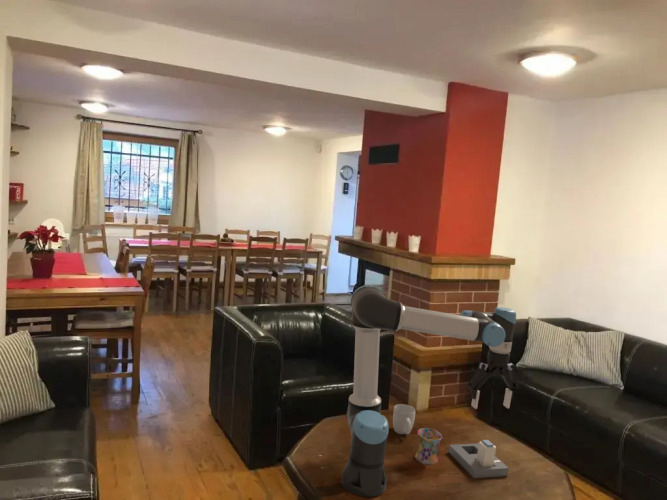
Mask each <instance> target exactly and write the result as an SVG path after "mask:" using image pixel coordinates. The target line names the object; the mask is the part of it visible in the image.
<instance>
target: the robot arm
mask: <svg viewBox="0 0 667 500" xmlns="http://www.w3.org/2000/svg"><path fill="white" fill-rule="evenodd" d="M350 306H351V326H352V327H353V328H354V329H355V337H354V338H355V339H354V340H355V341H354V361H353V362H354V363H353V364H354V365H353V366H354V369H353V387H352V388H353V390H352V392H353V393H352V394H350V395H349V397H348V407H347V411H346V421H347V423H348V427H349V432H350V437H351V438H350V439H351V440H350V449H349V457H348V460H347V462H346V465H345V466H344V469H343V471H342V474H341V480H340V481H341V485H342V486H343V488H344V489H346V491H348V492H349V493H351V494H353V495H357V496H360V497H368V498H370V497H371V498H372V497H377V496H380V495H382V494H383V493H384V492H385V491H386V489H387V476H386V471H385V456H386V449H387V442H388V435H389V429H390V428H389V421H388V419H387V418H386V416H385V415H383V414H381V413H382V398H381V397H380V396H379V395H378V385H379V361H380V360H379V359H380V337H381V330H385V331H393V332H397V331H399V330H404V331H405V330H406V331H413V332H418V333H423V334H431V335H434V336H435V335H437V336H442V337H447V338H448V337H449V338H454V339H455V338H456V339H460V340H467V341H474V342H478V343H484V345H486V346H488V348H489V349H488V351H487V357H486V359H487V362H486V363H483V362H482V361H480V362H479V363H478V366H477V369H476V370H475V372H474V373H473V375H472V377H471V378H470V380H469V382H468V383H467V387H468V388H469V389H471V394H470V397H471V399H472V400H471V404H470V406H471V407H472V408H474V409H475V410H477V409H478V407H479V406H478V404H479V400H480V393H481V390H479V389H481V387H482V386H483V385H484V384H485V383H486V382H487V381H488V380H489V379H491V378H492V377H499V378H500V377H502V380H503V381H504V383H505V385H506V386H507V387H506V388H505V391H504V392H505V393H504V397H503V399H504V400H503V403H502V405H503V406H504V407H505V408H506V409H510V406H511V403H512V401H511V400H512V399H513V397H514V393H515V392H517V390H519V389H520V383H519V382H518V378H517V373H516V365H515V364H513V363H512V362H510V357H511V351H512V346H513V339H514V338H513V337H514V334H515V333H514V331H515V327H516V322H517V312H516V311H515V310H514V309H512V308H508V307H505V306H504V307H502V306H497V307H495V308H494V311H493V312H486V311H479V310H472V309H471V310H466V309H465V310H461V312H460V314H454V313H448V312H443V311H437V310H431V309H425V308H418V307H413V306H406V305H403V304H402V302H400V301H397V300H392V299H390V298H387V297H385V295H384V294H383V292H382V291H381V289H379V288H377V287H376V286H373V285H366V284H365V285H362V286H360V287H358V288H357V289H355V290H354V292H353V293H352V295H351V297H350ZM507 371H508V373H507ZM508 374H509V375H508Z"/></svg>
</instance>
